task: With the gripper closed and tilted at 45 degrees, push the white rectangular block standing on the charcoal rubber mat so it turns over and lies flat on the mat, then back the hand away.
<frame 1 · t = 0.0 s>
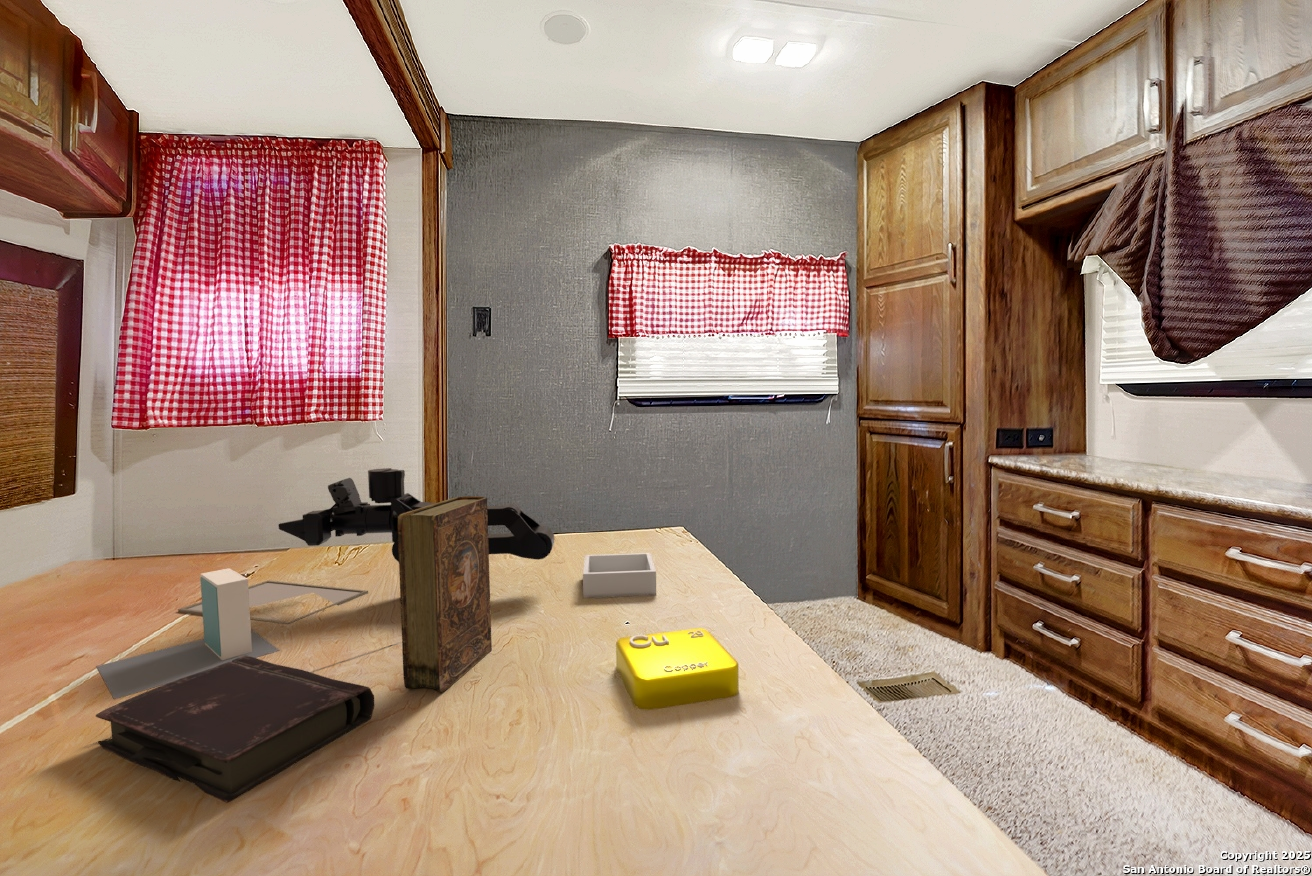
hand: (291, 521, 120), 17 cm above the worktop, fingers open, 9 cm apart
element tile: (674, 681, 85), on the worktop
white rectangular block: (228, 647, 97), resting on mat
diary: (239, 738, 72), on the worktop
mat: (190, 660, 93), on the worktop
picture frame: (277, 605, 120), on the worktop
book: (453, 669, 89), on the worktop
dish: (619, 585, 128), on the worktop
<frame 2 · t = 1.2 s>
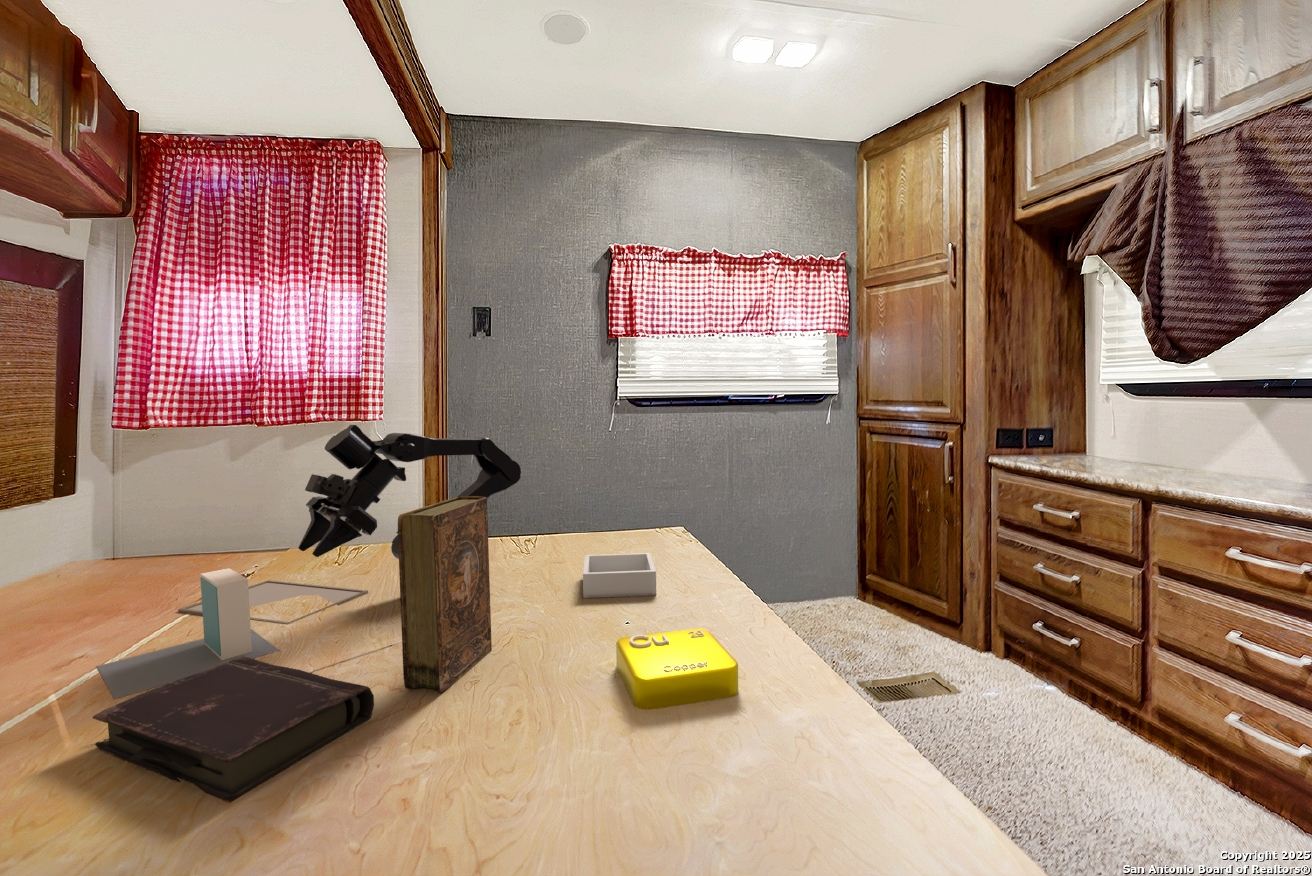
hand: (307, 552, 106), 14 cm above the worktop, fingers open, 6 cm apart
nothing on the worktop moved.
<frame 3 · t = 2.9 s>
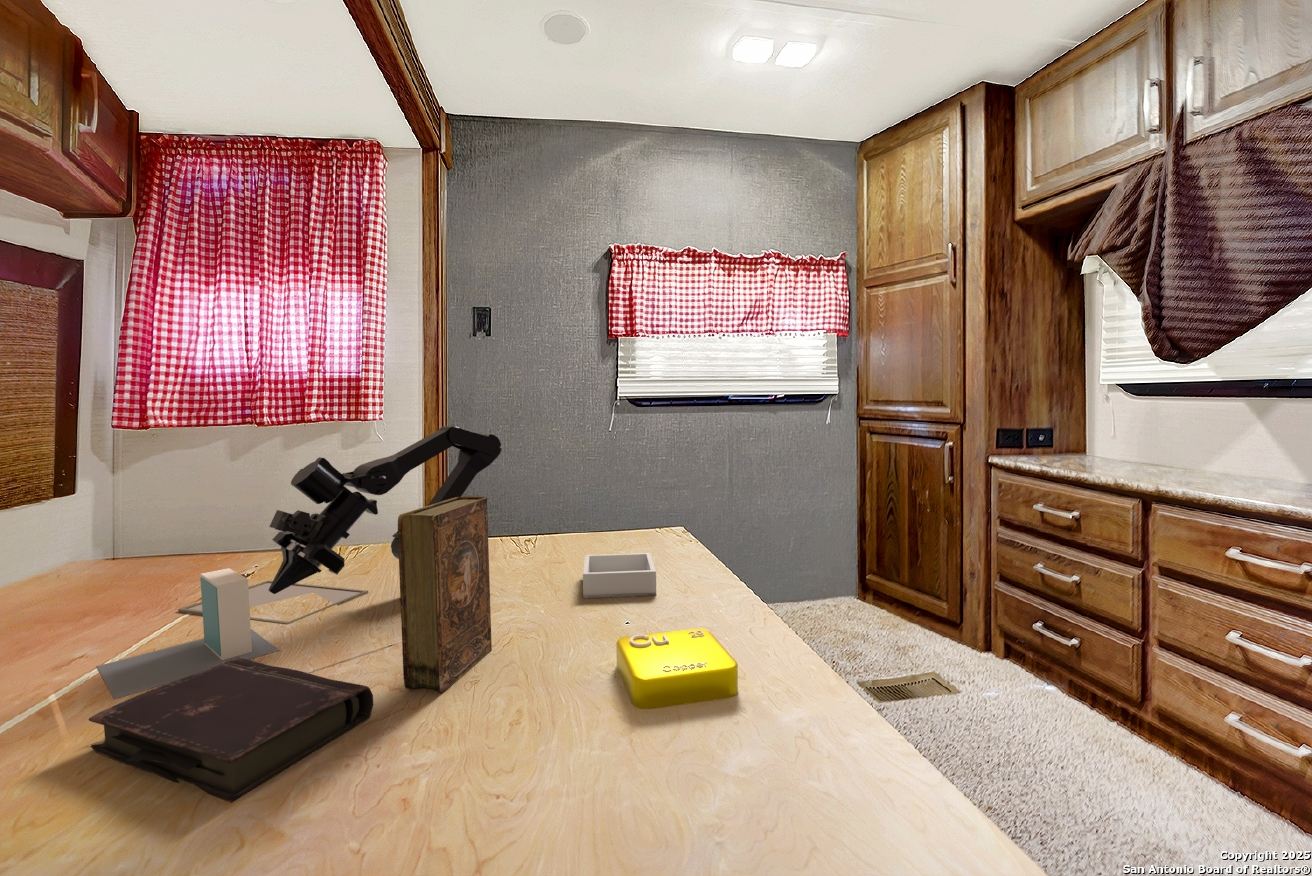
hand: (271, 592, 101), 8 cm above the worktop, fingers closed
nothing on the worktop moved.
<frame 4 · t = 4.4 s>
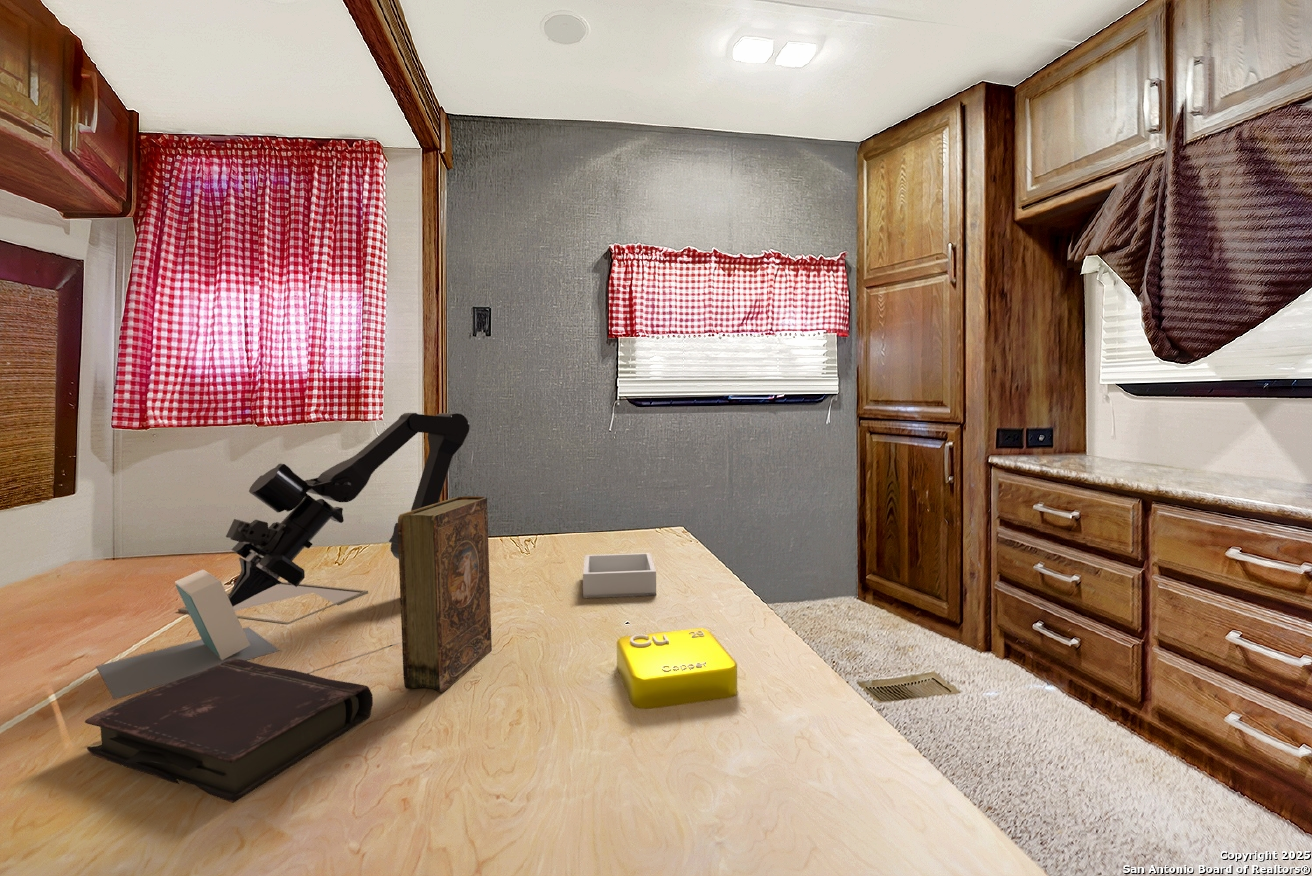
hand: (227, 605, 97), 7 cm above the worktop, fingers closed
white rectangular block: (227, 644, 97), point 1 cm above the worktop, tilted 17°, touching mat
everything else where it was.
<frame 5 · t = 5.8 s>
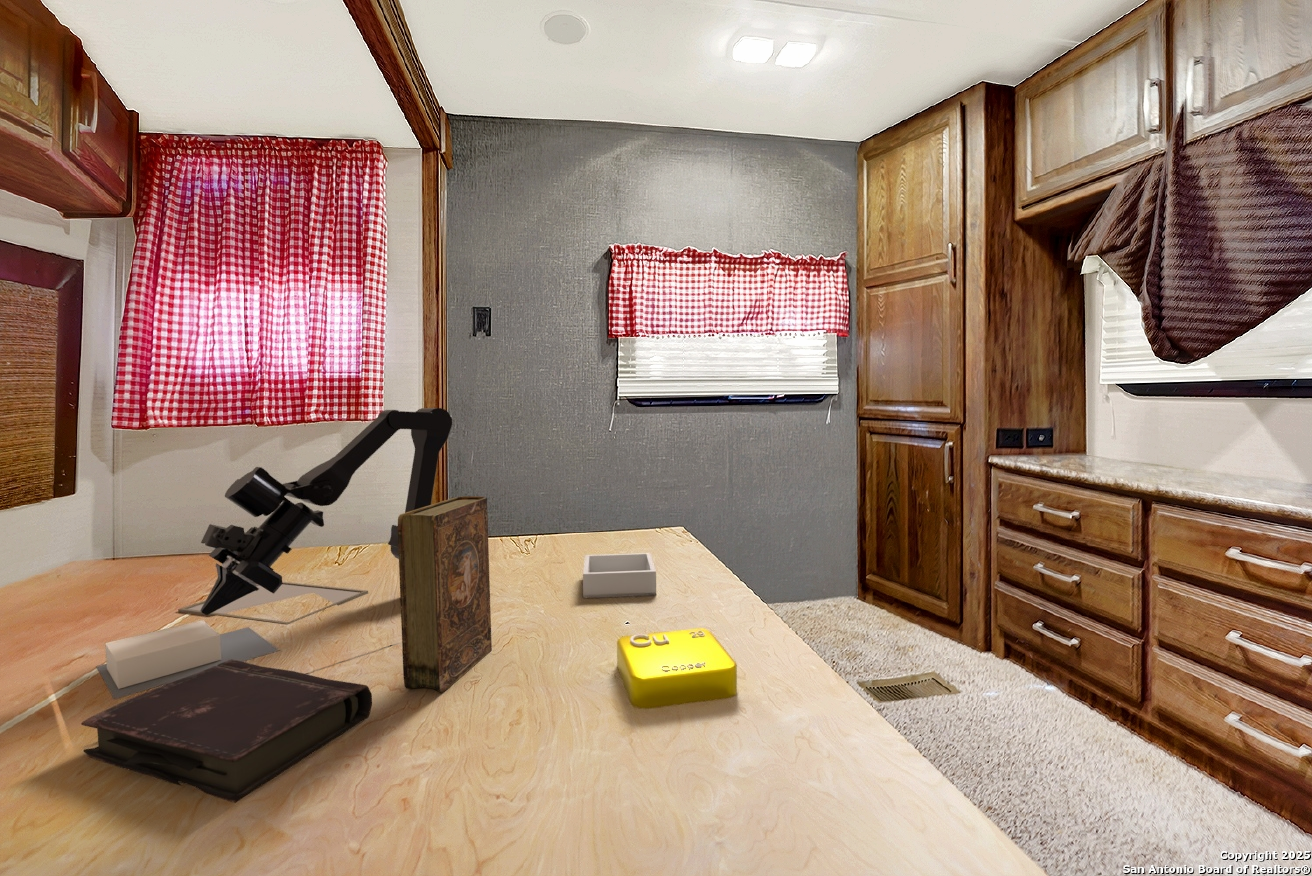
hand: (203, 613, 94), 7 cm above the worktop, fingers closed
white rectangular block: (211, 639, 95), point 3 cm above the worktop, tilted 90°, touching mat
everything else where it was.
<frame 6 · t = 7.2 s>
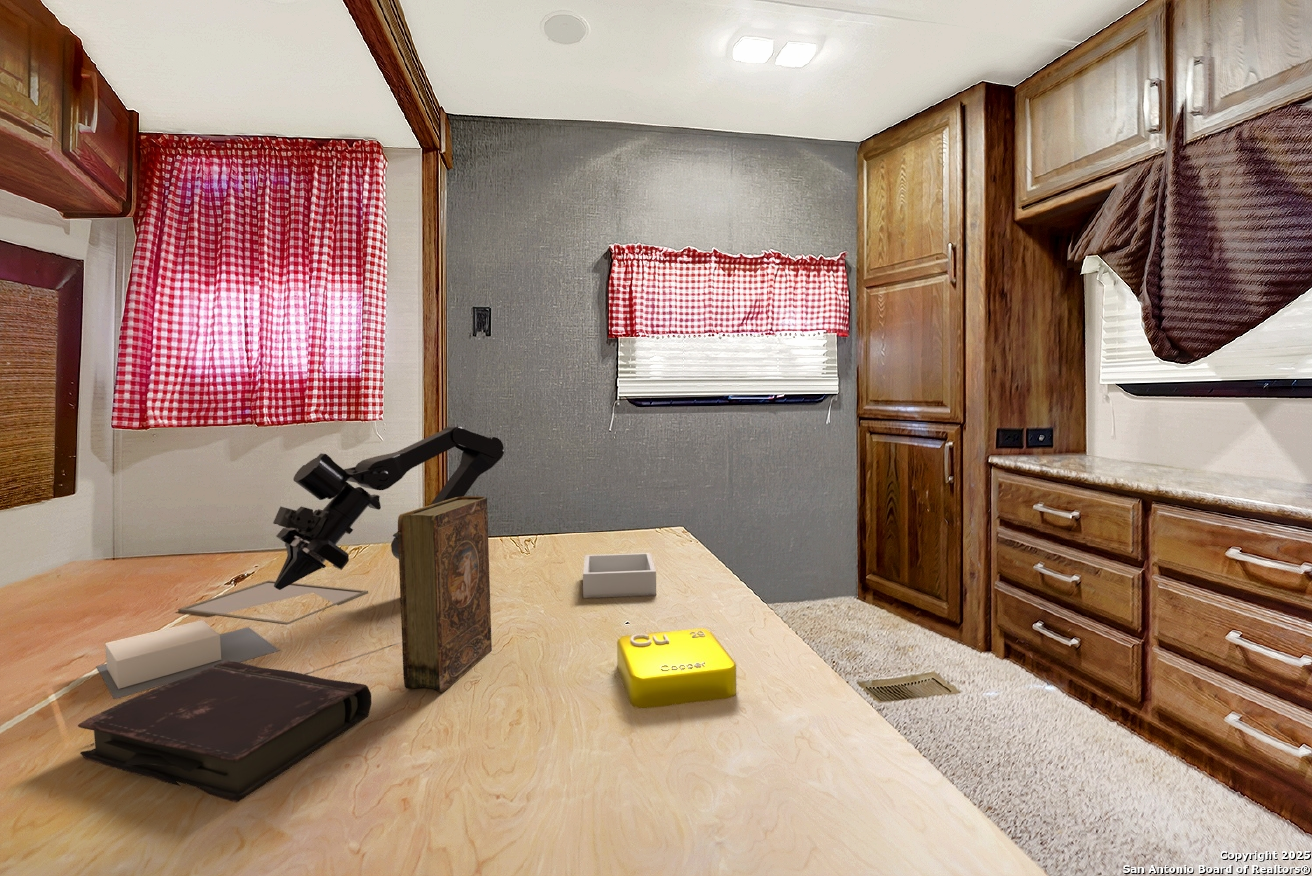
hand: (276, 588, 102), 8 cm above the worktop, fingers closed
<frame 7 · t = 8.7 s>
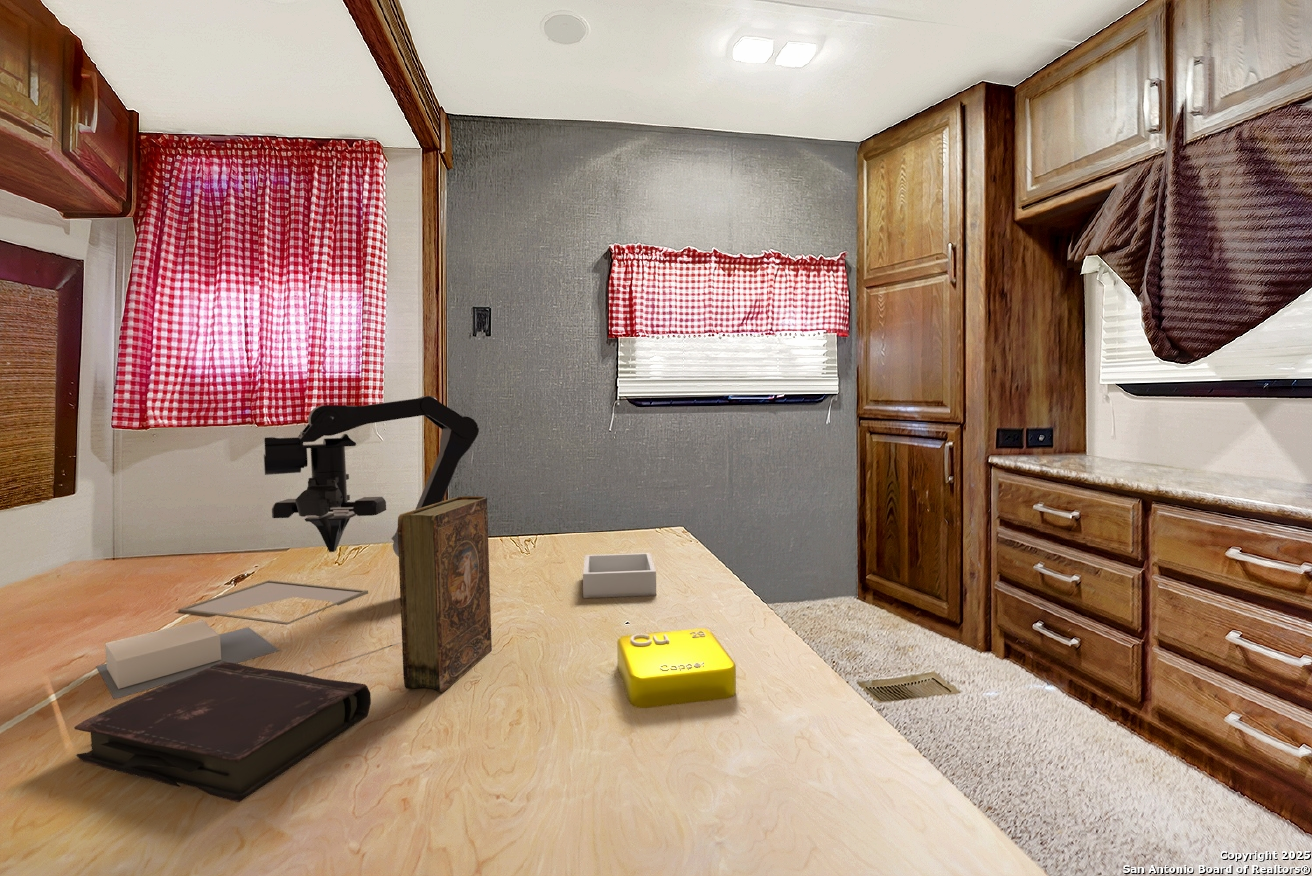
hand: (332, 551, 113), 12 cm above the worktop, fingers closed
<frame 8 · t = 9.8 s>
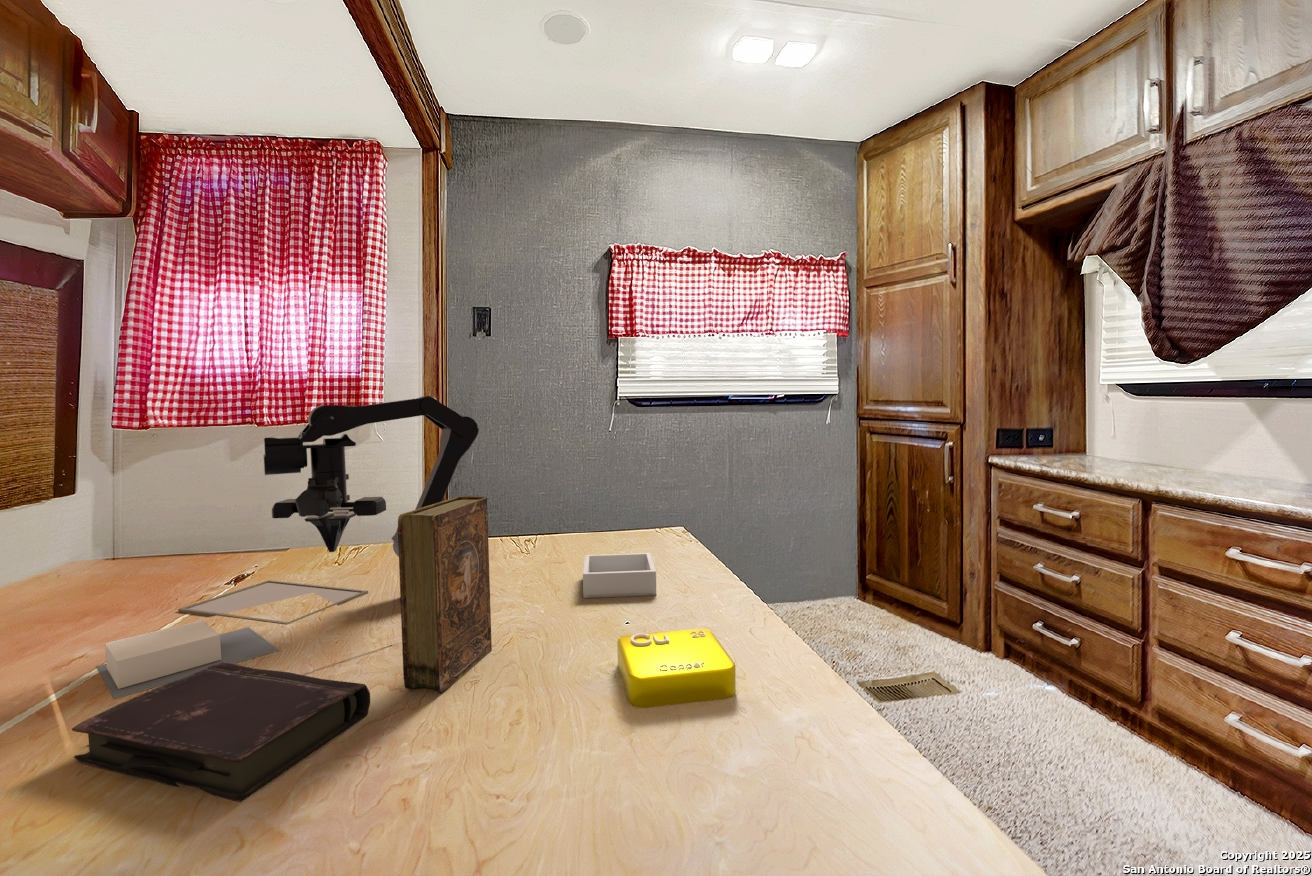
hand: (332, 551, 113), 12 cm above the worktop, fingers closed
at the end: white rectangular block tilted 90°; white rectangular block inside the target area on the mat (1.4 cm from its centre), point 2.5 cm above the mat's base; white rectangular block touching mat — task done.
